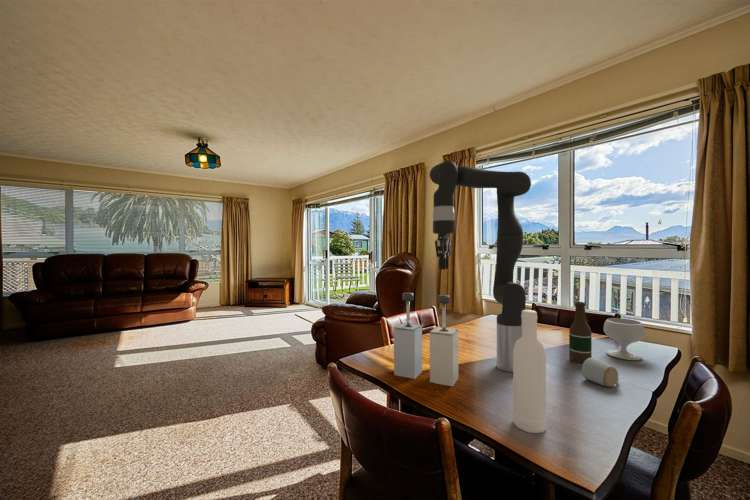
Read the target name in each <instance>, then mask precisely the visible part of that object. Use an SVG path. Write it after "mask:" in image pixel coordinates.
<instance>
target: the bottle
mask: <svg viewBox="0 0 750 500" xmlns="http://www.w3.org/2000/svg"><path fill="white" fill-rule="evenodd" d="M521 318H522V337H521V338H519V339H518V340H517V341H516V343H515V345H514V349H513V372H512V374H513V375H512V385H513V386H512V396H513V397H512V399H513V403H512V418H513V420H512V421H513V422H512V423H513V424H514V426H516V427H517V428H518V429H519V430H522V431H523V432H526V433H530V434H540V433H541V434H542V433H544V432H545V431H546V430H547V351H546V349H545V348H546V347H545V346H544V344H543V342H541V341H540V340H539V339H538V312H537V311H536V310H531V309H525V310H523V311H522V314H521Z"/></svg>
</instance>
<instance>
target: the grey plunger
mask: <svg viewBox="0 0 750 500" xmlns="http://www.w3.org/2000/svg"><path fill="white" fill-rule="evenodd" d="M402 301H406V305H405V306H406V307H405V308H406V312H405V313H406V323H407V327H410V324H411V323H410V322H411V320H410V317H411V315H410V313H411V311H410V310H411V307H410V306H411V305H410V303H411V302H412V301H414V293H413V292H402Z"/></svg>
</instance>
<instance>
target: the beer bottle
mask: <svg viewBox="0 0 750 500" xmlns="http://www.w3.org/2000/svg"><path fill="white" fill-rule="evenodd" d="M574 305H575V311H574V312H575V313H574V320H573V322H572V323H571V325H570V326H569V333H568V335H569V336H568V337H569V338H568V339H569V340H568V343H569V344H568V345H569V346H568V347H569V349H568V352H569V353H568V354H569V355H568V357H569V360H570V361H571V362H573V363H576V364H580V365H583V363H584V361H585V360H586V359H588V358H593V357H592V353H593V351H592V350H593V349H592V341H593V339H592V336H593V335H592V330H591V327H590V325H589V324H588V322H587V318H586V302H583V301H575V303H574Z"/></svg>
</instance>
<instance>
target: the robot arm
mask: <svg viewBox="0 0 750 500" xmlns="http://www.w3.org/2000/svg"><path fill="white" fill-rule="evenodd" d="M429 178H430V180H431V182H433V183H434V184H435V185H437V186H438V187H437V190H435V191H434V192H433V207H432V208H433V209H432V210H433V211H432V233H433V235H436V234H437V239H436V240H435V241H434V247H435V253H436V257H437V258H438V269H439V270H441V271H444V270H448V269H449V259H450V257H451V255H452V246H453V245H452V244H453V241H452V239H451V238H450V235H451V234H455V232H456V230H455V229H456V226H455V224H456V223H455V221H456V220H455V219H456V218H455V196H454V195H455V192H456V188H457V186H458V187H459V186H460V187H465V188H471V189H496V199H497V201H496V202H497V203H496V204H497V231H496V260H495V275H494V281H493V285H492V294H493V295H492V296H493V298H494V300H495V301H496V302H497V303H499V304H501V305H502V306H501V307H502V309H501V310H502V311H501V313H499V314H497V315H496V368H497V369H499V370H500V371H504V372H507V373H513V349H514V345H515V343H516V341H517V340H518V339H519V338H521V337H522V318H521V314H522V311H523V310H526V301H527V300H526V299H527V297H526V291H525V288H524V287H523V285H521V284H520V283H517V282H514V269H515V266H516V264H517V261H518V260H519V257H520V255H521V252H522V250H523V241H524V240H523V238H524V236H523V235H524V231H523V227H522V225H521V223H520V220H519V219H518V217H517V214H516V212H515V205H514V204H515V197H519V196H522V195H525V194H526V193H528V192H529V191H530V190H531V186H532V180H531V177H530V175H529V174H527V172H524V171H523V170H522V171H520V170H519V171H502V170H501V171H499V170H488V169H482V168H477V167H471V166H466V165H465V166H457V165H456V164H455V162H454V161H452V160H445V161H443V162H440V163H438V164H436V165H434V166H432V168H431V169H430V171H429Z"/></svg>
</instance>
